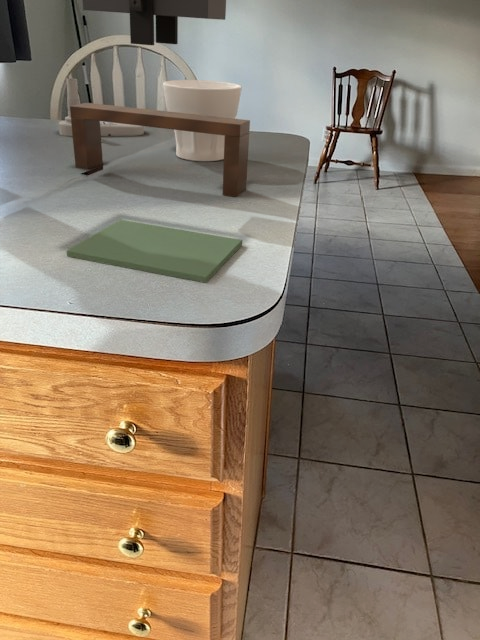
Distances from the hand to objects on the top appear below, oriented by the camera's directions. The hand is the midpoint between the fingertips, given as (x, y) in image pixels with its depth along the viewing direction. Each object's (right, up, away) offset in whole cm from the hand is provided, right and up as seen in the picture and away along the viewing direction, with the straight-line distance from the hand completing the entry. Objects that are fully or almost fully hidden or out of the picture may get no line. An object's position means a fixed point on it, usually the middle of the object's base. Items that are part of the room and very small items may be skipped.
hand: (155, 43), depth 67 cm
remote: (0, +3, -1) cm, 3 cm away
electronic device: (-15, -1, +32) cm, 36 cm away
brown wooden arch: (-1, -15, +8) cm, 17 cm away
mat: (+3, -27, -14) cm, 31 cm away
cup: (+4, -7, +24) cm, 25 cm away
